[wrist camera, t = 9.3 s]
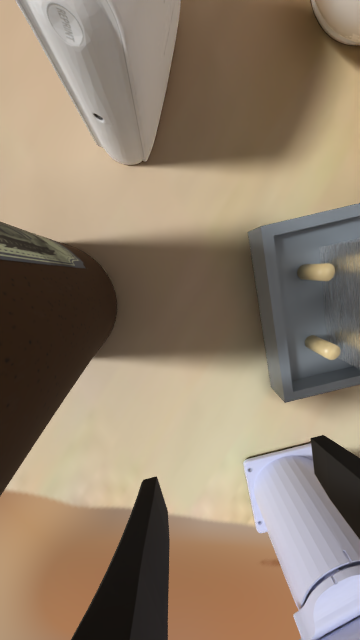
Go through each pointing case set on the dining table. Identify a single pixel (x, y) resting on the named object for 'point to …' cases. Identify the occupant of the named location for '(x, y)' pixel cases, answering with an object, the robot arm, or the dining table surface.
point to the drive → (343, 298)
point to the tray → (300, 301)
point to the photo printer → (111, 64)
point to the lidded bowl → (339, 19)
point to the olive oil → (44, 333)
